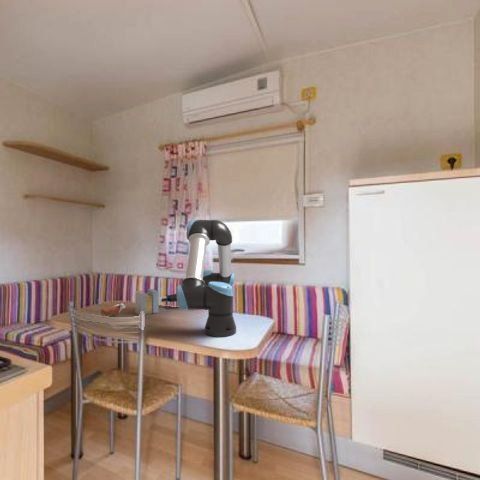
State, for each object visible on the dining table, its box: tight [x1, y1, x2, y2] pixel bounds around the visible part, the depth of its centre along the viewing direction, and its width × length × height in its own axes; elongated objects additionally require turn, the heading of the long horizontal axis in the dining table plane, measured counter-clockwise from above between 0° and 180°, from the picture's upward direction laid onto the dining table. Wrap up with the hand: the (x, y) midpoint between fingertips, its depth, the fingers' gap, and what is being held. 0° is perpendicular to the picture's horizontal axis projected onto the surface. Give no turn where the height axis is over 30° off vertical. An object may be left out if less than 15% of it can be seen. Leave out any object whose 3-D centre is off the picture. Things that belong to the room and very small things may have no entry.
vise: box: [134, 290, 170, 316], centre depth 171 cm, size 17×11×13 cm, turn 125°
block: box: [146, 293, 153, 315], centre depth 169 cm, size 4×8×10 cm, turn 35°
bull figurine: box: [100, 302, 126, 317], centre depth 159 cm, size 4×13×8 cm, turn 138°
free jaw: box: [147, 288, 159, 314], centre depth 171 cm, size 3×10×12 cm, turn 35°
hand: (155, 300), depth 173 cm, fingers closed
